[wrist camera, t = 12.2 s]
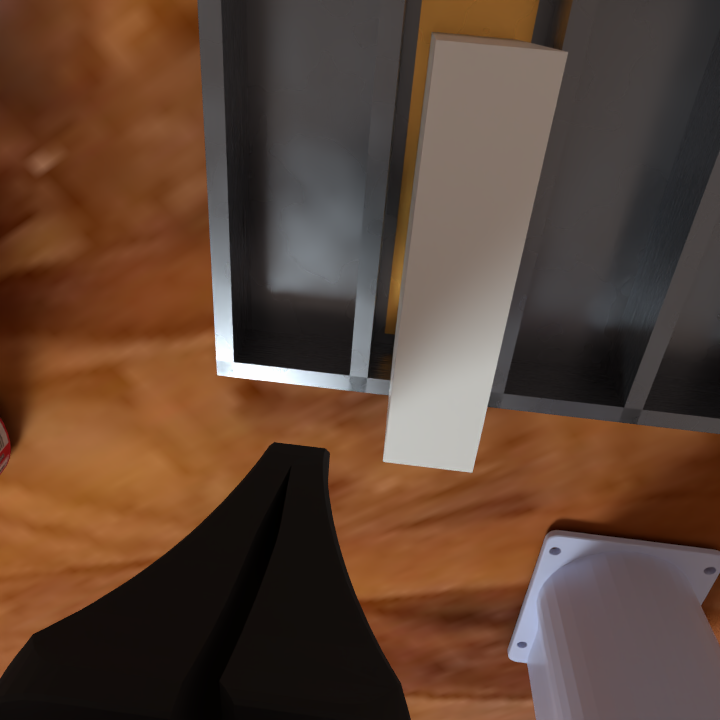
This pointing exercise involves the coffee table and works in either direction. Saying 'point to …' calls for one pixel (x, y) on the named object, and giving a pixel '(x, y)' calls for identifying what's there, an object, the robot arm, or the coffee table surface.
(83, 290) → the coffee table surface
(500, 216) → the panel
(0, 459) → the soda can
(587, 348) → the rack
